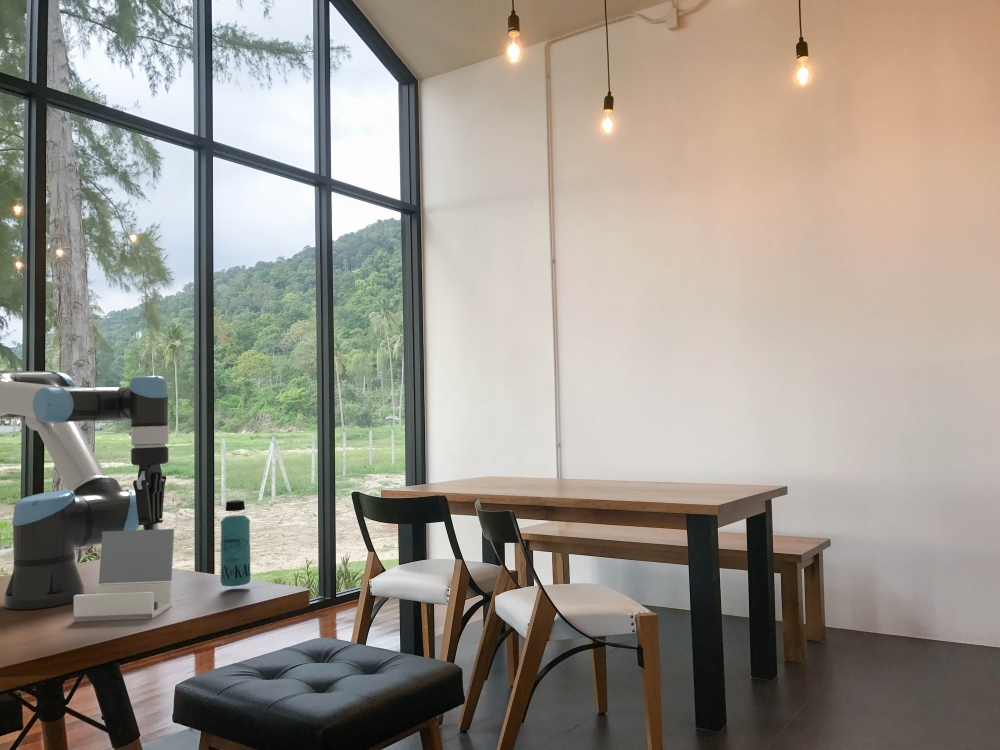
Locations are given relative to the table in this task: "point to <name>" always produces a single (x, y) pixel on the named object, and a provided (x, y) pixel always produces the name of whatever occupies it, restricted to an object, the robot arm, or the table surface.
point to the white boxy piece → (123, 602)
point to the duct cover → (136, 556)
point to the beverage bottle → (235, 547)
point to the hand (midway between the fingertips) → (151, 554)
